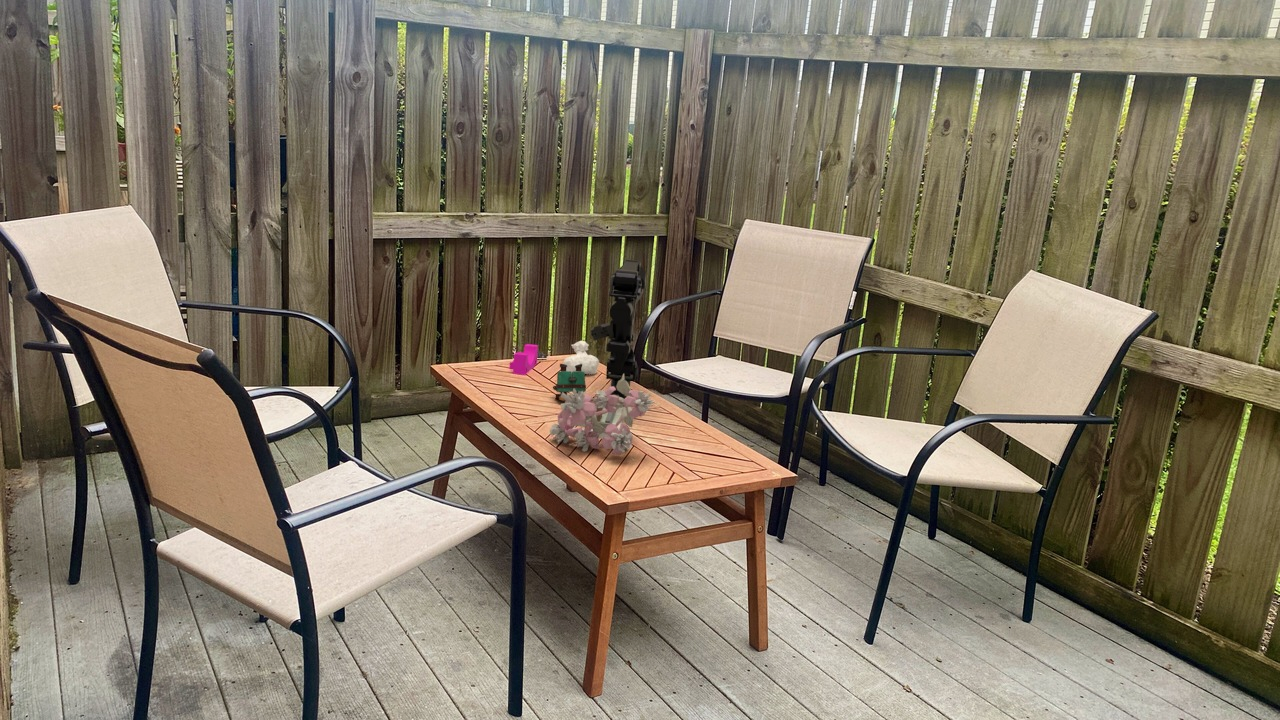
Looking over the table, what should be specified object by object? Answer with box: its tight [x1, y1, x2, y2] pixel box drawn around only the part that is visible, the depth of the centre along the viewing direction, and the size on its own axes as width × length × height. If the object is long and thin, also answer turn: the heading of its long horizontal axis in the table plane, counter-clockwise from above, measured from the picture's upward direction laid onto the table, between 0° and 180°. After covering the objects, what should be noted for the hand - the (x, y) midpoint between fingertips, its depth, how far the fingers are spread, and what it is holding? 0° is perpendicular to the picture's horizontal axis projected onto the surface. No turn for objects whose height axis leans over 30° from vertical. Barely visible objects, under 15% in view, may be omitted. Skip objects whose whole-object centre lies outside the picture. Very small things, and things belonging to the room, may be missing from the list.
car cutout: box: [537, 351, 548, 361], centre depth 322 cm, size 15×7×4 cm, turn 119°
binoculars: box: [552, 363, 587, 402], centre depth 279 cm, size 9×11×10 cm
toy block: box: [509, 343, 539, 376], centre depth 308 cm, size 15×6×8 cm, turn 171°
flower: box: [549, 374, 655, 456], centre depth 241 cm, size 20×22×25 cm
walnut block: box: [591, 401, 603, 422], centre depth 260 cm, size 5×5×4 cm
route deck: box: [557, 391, 624, 440], centre depth 262 cm, size 25×16×5 cm, turn 176°
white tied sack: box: [562, 340, 600, 376], centre depth 308 cm, size 12×8×11 cm, turn 114°
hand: (618, 370), depth 272 cm, fingers closed
